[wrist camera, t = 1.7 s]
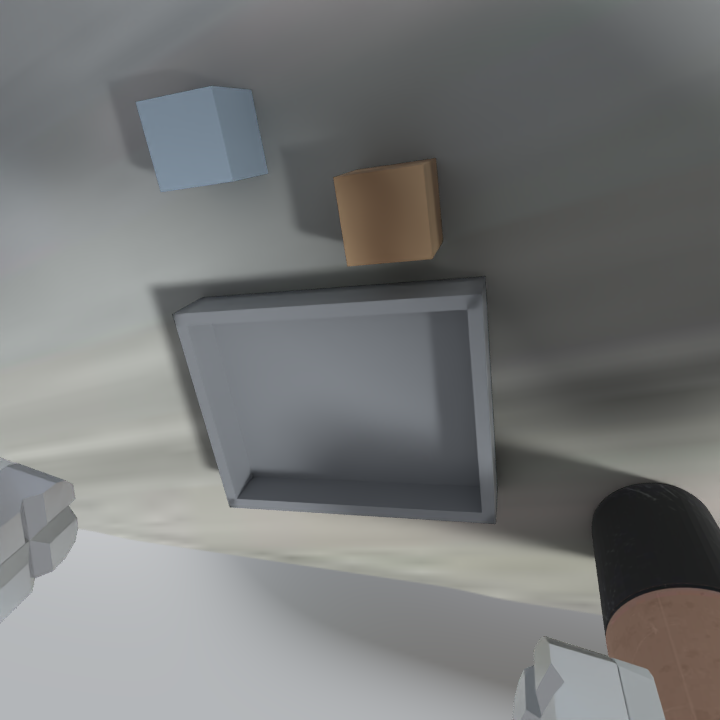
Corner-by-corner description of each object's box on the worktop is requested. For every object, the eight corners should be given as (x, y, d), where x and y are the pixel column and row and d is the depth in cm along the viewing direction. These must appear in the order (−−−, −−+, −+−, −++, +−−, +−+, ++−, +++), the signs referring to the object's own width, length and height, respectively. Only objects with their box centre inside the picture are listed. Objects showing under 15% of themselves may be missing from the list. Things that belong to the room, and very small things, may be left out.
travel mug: (716, 574, 34) (925, 1054, 17) (589, 570, 37) (655, 982, 19) (721, 477, 31) (976, 928, 14) (583, 479, 34) (654, 864, 16)
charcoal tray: (485, 276, 30) (481, 294, 27) (497, 489, 36) (495, 523, 33) (201, 297, 36) (172, 314, 33) (250, 478, 42) (229, 507, 39)
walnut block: (436, 158, 29) (423, 164, 25) (443, 240, 30) (432, 258, 26) (357, 169, 30) (333, 177, 26) (368, 247, 32) (347, 266, 28)
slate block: (251, 89, 30) (211, 85, 26) (268, 173, 31) (233, 181, 27) (183, 103, 31) (135, 101, 27) (203, 183, 33) (160, 192, 29)
